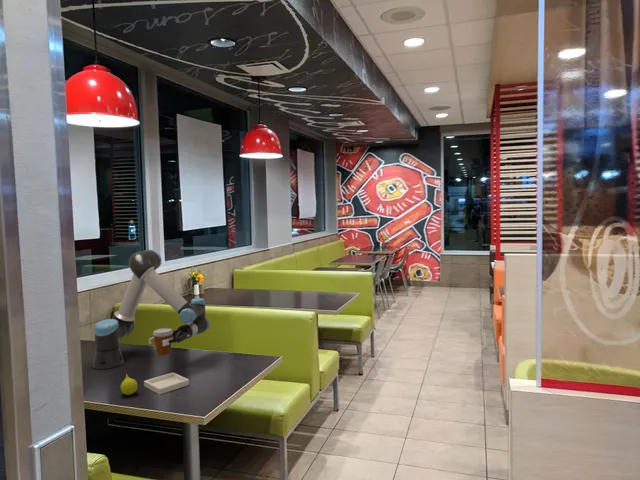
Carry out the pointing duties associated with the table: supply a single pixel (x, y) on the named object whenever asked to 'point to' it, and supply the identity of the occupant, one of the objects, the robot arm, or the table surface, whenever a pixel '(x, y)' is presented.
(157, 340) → the disposable coffee cup
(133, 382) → the ornament
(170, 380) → the square tray
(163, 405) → the table surface
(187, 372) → the table surface
